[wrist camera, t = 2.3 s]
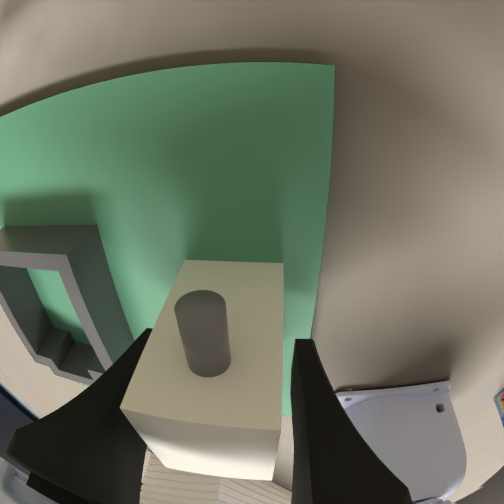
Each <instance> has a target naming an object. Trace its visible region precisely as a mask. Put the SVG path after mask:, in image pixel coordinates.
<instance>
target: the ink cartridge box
mask: <svg viewBox="0 0 504 504" xmlns="http://www.w3.org/2000/svg"><path fill="white" fill-rule="evenodd" d="M494 402H495V404H496V406H497V409H498V412H499V415H500V418H501V420H502V424H503V427H504V390H503V391H502V392H500V393H499V394H498V395H496V396H495V398H494Z"/></svg>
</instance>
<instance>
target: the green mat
mask: <svg viewBox="0 0 504 504" xmlns="http://www.w3.org/2000/svg"><path fill="white" fill-rule="evenodd" d="M334 87H335V66H334V65H323V64H310V63H291V62H240V63H220V64H207V65H196V66H187V67H178V68H171V69H164V70H157V71H151V72H146V73H140V74H135V75H130V76H125V77H120V78H116V79H111V80H107V81H103V82H99V83H95V84H91V85H88V86H84V87H81V88H77V89H74V90H71V91H67V92H64V93H61V94H58V95H55V96H52V97H49V98H46V99H43V100H41V101H38V102H35V103H33V104H30V105H28V106H25V107H22V108H20V109H18V110H15V111H13V112H11V113H8V114H6V115H4V116H1V117H0V227H1V229H2V228H3V227H10V226H44V225H98V229H99V232H100V236H101V240H102V244H103V248H104V251H105V255H106V258H107V262H108V265H109V269H110V272H111V275H112V278H113V281H114V285H115V288H116V291H117V294H118V297H119V300H120V303H121V306H122V308H123V311H124V314H125V317H126V320H127V322H128V325H129V328H130V330H131V333H132V335H133V338H134V341H135V340H136V339H137V338H138V337H139V336H140V335H141V334H142V332H143V331H144V330H145V329H146V328H153V327H154V325H155V323H156V321H157V318H158V316H159V314H160V312H161V310H162V307H163V305H164V303H165V301H166V299H167V297H168V295H169V292H170V290H171V288H172V286H173V284H174V282H175V280H176V278H177V276H178V273H179V271H180V269H181V267H182V265H183V263H184V261H185V260H207V261H234V262H263V263H283V273H284V311H283V381H282V415H281V416H292V410H291V397H290V389H291V367H292V360H293V352H294V345H295V339H310V334H311V328H312V322H313V316H314V309H315V303H316V296H317V289H318V282H319V275H320V267H321V260H322V252H323V243H324V234H325V225H326V216H327V205H328V195H329V183H330V170H331V156H332V139H333V119H334ZM27 271H28V273H29V275H30V278H31V280H32V282H33V285H34V287H35V289H36V291H37V294H38V296H39V298H40V300H41V302H42V304H43V306H44V308H45V310H46V312H47V314H48V316H49V318H50V320H51V322H52V324H53V326H54V328H57V329H62V330H66V331H70V333H71V335H72V337H73V339H74V341H75V342H77V343H82V344H86V345H91V343H90V341H89V339H88V337H87V335H86V333H85V331H84V329H83V327H82V325H81V323H80V321H79V319H78V317H77V314H76V312H75V310H74V308H73V306H72V303H71V301H70V299H69V296H68V294H67V292H66V289H65V287H64V284H63V282H62V279H61V277H60V274H59V271H49V270H39V269H30V268H27ZM91 346H92V345H91ZM78 383H79V382H78ZM79 384H82V385H85V386H90V385H86V384H83V383H79Z"/></svg>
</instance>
